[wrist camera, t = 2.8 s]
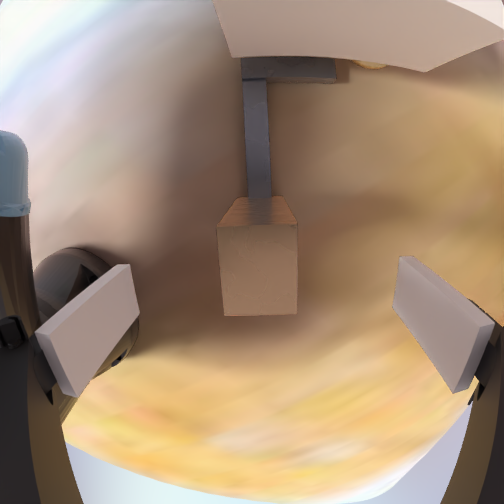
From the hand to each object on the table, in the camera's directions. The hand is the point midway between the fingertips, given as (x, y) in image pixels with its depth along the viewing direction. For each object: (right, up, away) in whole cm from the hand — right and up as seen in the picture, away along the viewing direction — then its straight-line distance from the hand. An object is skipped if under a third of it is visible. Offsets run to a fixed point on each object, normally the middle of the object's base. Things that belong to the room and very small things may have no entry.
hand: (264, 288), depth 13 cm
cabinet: (+6, +24, +6) cm, 26 cm away
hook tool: (+2, +10, +11) cm, 15 cm away
